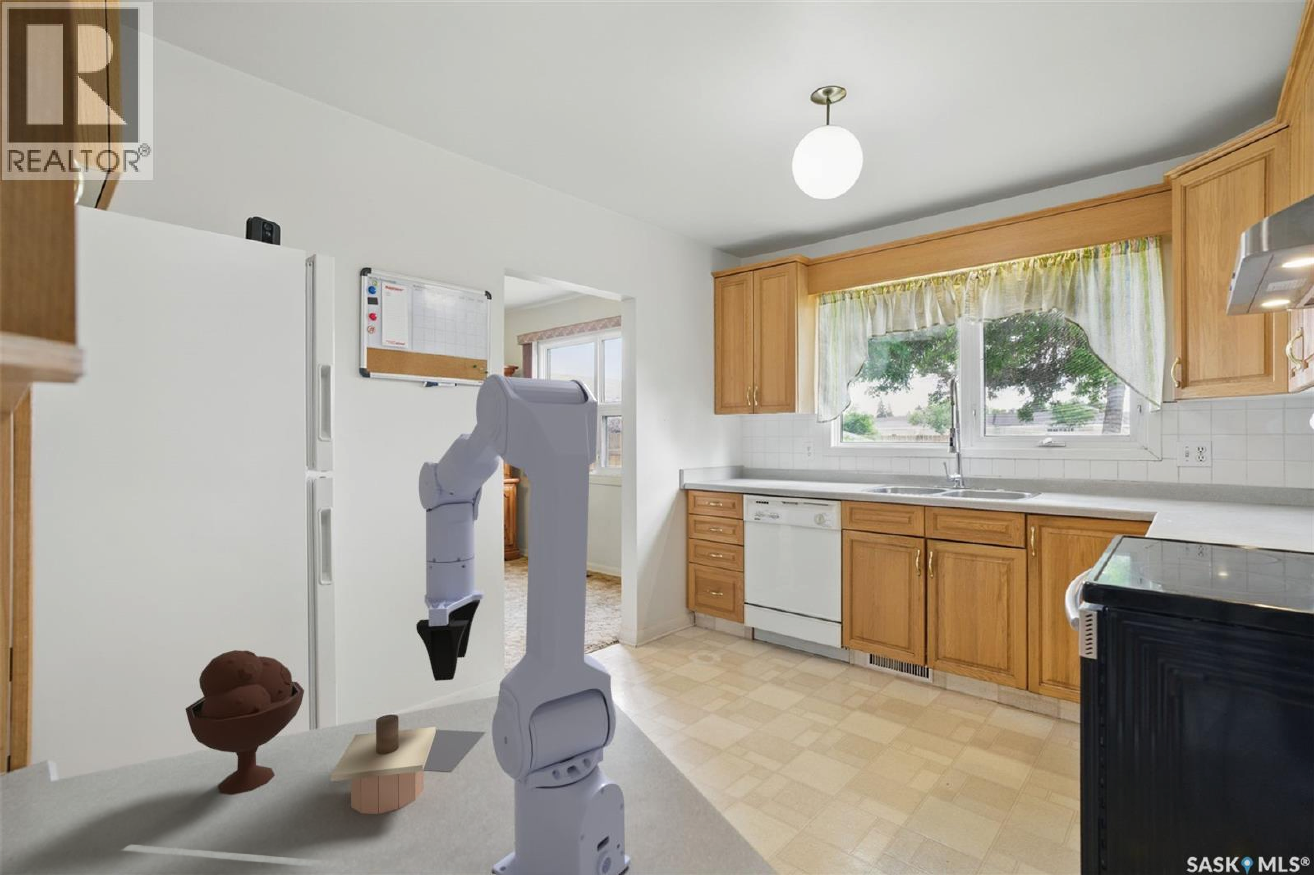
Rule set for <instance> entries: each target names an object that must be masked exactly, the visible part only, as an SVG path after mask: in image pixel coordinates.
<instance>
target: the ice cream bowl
mask: <svg viewBox="0 0 1314 875" xmlns="http://www.w3.org/2000/svg"><path fill="white" fill-rule="evenodd" d="M292 679H293V676H292V673H291V671H290V669H289V668H288V667H286V666H285V665H284V664H283V663H281V662H280V660H278V659H276V658H274V657H268V656H261V655H259V656H258V655H256V654H255V652H252V651H249V650H236V649H235V650H231V651H227V652H223V653H222V654H219V655H217V656H216V657H214V658H212V659H211V660H210V662H208V664H207V665H206V667H204V669H203V670H202V671H201V672H200V676H199V688H200V690H201V692H202V694H203V697H201V698H200V699H198V700H196V701H195V702H193V703H192V704H190V705H189V706H187V707H185V714H186V716H187V721H188V723H189V727H190V730H191V733H192V734H193V736H194V738H195V739H196V741H197V742H198V743H200V744H201V745H203V746H205V747H207V748H209V749H210V750H216V751H218V752H225V753H226V752H227V753H235V754H236V756H237V763H236V764H237V767H236V768H237V769H236V770H235V771H233V772H232V773H231V774H229V775H228V776H226V777H225V778H224V779H223V780H222V781H221V782H219V783H218V785H217V789H218V792H219V793H220V794H224V795H225V794H226V795H237V794H242V793H247V792H251V791H254V790H256V789H258V788H260V787H262V786H265V785H267V784H268V783H269V782H270V781H271V780H272V779H273V778H274V777H275V772H274V770H273V768H272V767H268V766H263V765H257V754H256V753H257V751H258V749H259V747H260V746H262V745H265V744H267V743H268V742H270V741H271V740H272V739H274V738H275V737H276V736H277V735H278V734H279V733H281V731H282V730H284V729H285V728H286V726H288V724H289V723H290V722H291V721H292V720H293V719H294V718H295V717H296V716H297V714H298V712H299V709H300V707H301V706H302V702H303V698H304V693H305V689H303V687H302V686H301V685H300V683H299V682H298V681H293V680H292Z"/></svg>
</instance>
